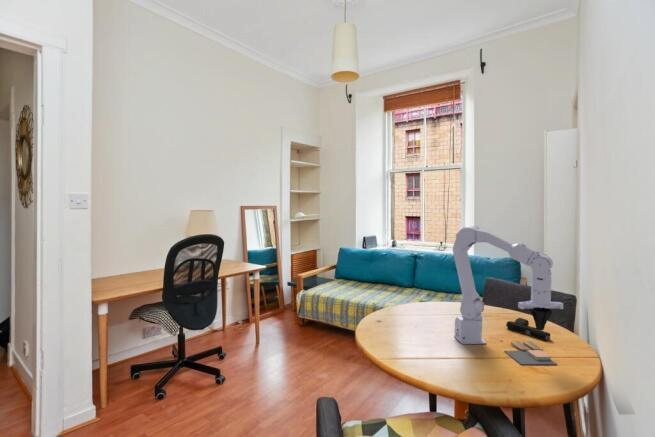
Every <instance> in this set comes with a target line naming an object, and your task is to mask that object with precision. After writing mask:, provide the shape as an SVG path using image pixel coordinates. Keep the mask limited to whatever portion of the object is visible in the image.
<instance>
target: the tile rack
mask: <svg viewBox="0 0 655 437" xmlns="http://www.w3.org/2000/svg"><path fill="white" fill-rule="evenodd" d="M510 345H511V346H513V347H514V348H515V349H516V350H517V351H527V350H542V351H543V352H544V349H543V348H542V347H540V346H539V345H537V344H535V343H534V342H532V341H524V340H523V341H522V342H520V341H519V340H518V341H516V340H515V341H510Z"/></svg>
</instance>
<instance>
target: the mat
mask: <svg viewBox="0 0 655 437" xmlns="http://www.w3.org/2000/svg"><path fill="white" fill-rule="evenodd" d="M503 352H504V353H505V354H506V355H508V356H509V357H510V358H512V359H513V360H514V361H515V362H517V363H518V364H520V365H521V366H557V365H558V363H557V362H555V361H554V360H552V359H551V360H535V359H534V358H532V357H531V356H530V355H528V354H527V351H520V350H504V351H503Z"/></svg>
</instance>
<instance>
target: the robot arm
mask: <svg viewBox="0 0 655 437" xmlns="http://www.w3.org/2000/svg"><path fill="white" fill-rule="evenodd" d="M454 240H455V241H454V243H453V245H452V254H453V257H454V258H453V259H454V262H455V267H456V271H457V275H458V281H459V286H460V287H459V288H460V291H461V296H460V307H459V312H460V314H461V316H457V317H456V318H454V334H453V337H454V338H455V339H456V340H457V341H458V342H460V344H462V345H472V344H473V345H477V344H478V345H480V344H484V345H486V344H487V342H486V341H485V340H484V339H483V315H482V313H483V312H484V311H485V305H484V302H483V301H482V300H481V297H480V294H479V293H478V292H477V290H476V284H475V280H474V276H473V272H472V267H471V262H470V257H469V253H468V251H469V250H470V249H471V248H472V247H473V245H475V244H477V243H487V244H489V245H491V246H494V247H496V248H499V249H501V250H503V251H504V252H507V253H508V255H509V257H510V258H511V259H513V260H516V261H517V262H519V263H521V264H523V265H525V266H527V267H530V269H531V270H532V273H531V282H530V283H531V286H530V287H531V288H530V289H531V290H530V291H531V292H530V300H526V301H518V302H517V308H518V309H521V310H524V309H528V310H529V311H530V313H531V315H532V317H533V320H534V324H535V328H537V329H538V330H541V331H544V330H545V328H546V327H545V326H546V325H547V322H548V320H549V318H550V317H551V315H553V310H551V309H554V310H555V309H559V310H563V309H564V303H563V302H561V301H551V300H552V268H553V266H554V261H553V259H552V258H551V257H550V256H548V254H546V253H541V251H539V250H537V251H536V250H534V249H531V248H530V247H527V244H525V243H520V242H519V243H514V244H513V243H511V242H509V241H507V240H505V239H503V238H501V237H500V236H498V235H496V234H494V233H492V232H490V231H488V230H487V229H484V228H479V227H478V226H475V225H473V226H472V225H471V226H469V227H467V226H466V227H463V228H461V229H460V230H459V231H458V232H457V233H456V234H455V239H454Z"/></svg>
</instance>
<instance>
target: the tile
mask: <svg viewBox="0 0 655 437" xmlns="http://www.w3.org/2000/svg"><path fill="white" fill-rule="evenodd" d="M527 354H528V355H530V356H531V357H532V358H534V359H535V360H552V356H550V355H549V354H548V353H546V352H544V350H543V351H542V350H531V349H530V350H527Z"/></svg>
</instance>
